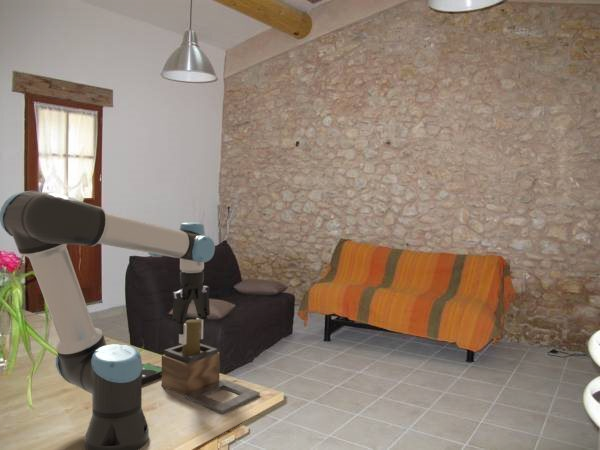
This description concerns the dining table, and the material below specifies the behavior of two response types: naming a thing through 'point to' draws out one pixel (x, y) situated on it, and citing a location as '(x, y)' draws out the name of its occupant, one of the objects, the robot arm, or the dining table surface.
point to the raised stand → (190, 369)
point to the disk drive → (150, 373)
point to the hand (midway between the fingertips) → (191, 340)
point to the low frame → (222, 408)
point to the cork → (192, 338)
